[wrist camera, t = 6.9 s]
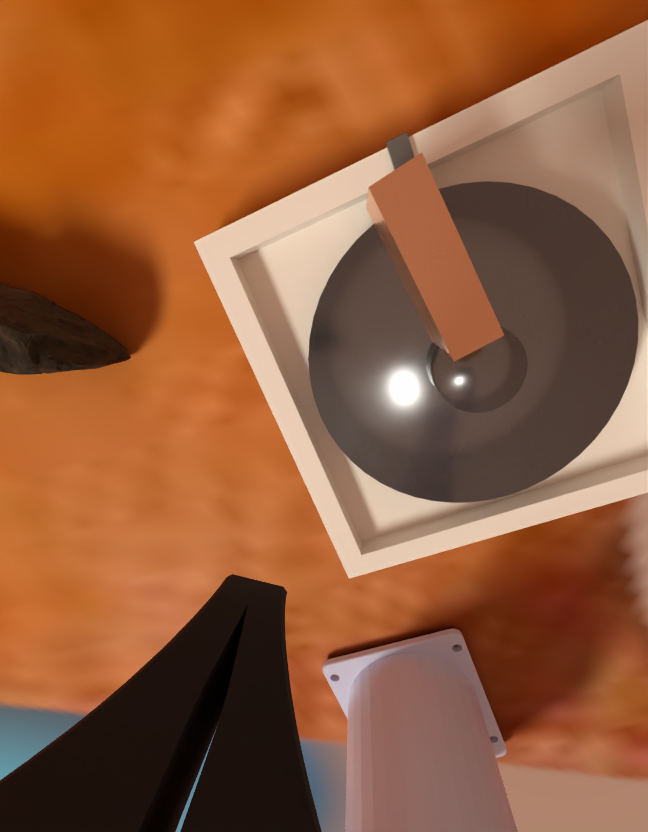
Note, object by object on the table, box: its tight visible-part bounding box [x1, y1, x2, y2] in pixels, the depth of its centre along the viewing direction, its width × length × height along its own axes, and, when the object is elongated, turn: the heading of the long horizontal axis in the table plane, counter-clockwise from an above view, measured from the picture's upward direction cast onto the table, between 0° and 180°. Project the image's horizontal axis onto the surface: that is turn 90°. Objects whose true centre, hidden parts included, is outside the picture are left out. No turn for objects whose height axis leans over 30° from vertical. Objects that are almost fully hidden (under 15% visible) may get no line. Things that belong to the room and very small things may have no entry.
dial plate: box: [194, 20, 648, 578], centre depth 16 cm, size 16×16×2 cm
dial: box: [308, 153, 638, 503], centre depth 14 cm, size 12×12×4 cm
